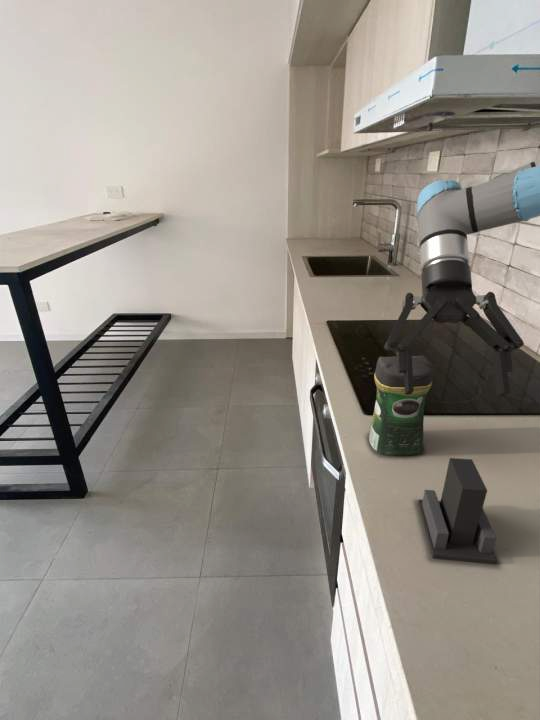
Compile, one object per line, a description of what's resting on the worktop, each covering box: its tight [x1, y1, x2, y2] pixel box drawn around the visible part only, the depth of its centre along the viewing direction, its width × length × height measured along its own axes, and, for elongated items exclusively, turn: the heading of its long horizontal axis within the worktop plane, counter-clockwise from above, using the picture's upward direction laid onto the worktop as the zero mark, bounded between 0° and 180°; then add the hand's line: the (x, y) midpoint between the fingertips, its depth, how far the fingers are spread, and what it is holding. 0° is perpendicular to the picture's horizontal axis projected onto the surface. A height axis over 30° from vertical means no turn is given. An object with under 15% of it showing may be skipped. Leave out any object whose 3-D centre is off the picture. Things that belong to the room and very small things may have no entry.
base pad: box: [417, 489, 497, 565], centre depth 57 cm, size 8×10×4 cm
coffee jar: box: [368, 354, 433, 457], centre depth 72 cm, size 10×8×19 cm
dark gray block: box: [440, 457, 488, 546], centre depth 55 cm, size 3×6×10 cm, turn 172°
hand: (455, 394), depth 60 cm, fingers open, 13 cm apart
